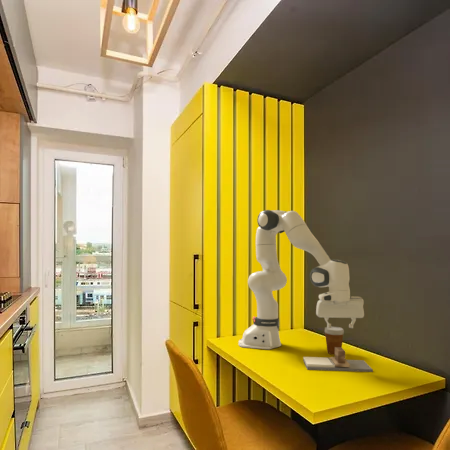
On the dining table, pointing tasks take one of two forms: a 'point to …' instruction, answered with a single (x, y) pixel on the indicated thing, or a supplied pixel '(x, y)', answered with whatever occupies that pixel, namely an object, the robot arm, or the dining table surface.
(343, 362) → the stub
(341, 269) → the robot arm
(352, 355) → the dining table surface
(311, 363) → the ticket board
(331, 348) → the disposable coffee cup
